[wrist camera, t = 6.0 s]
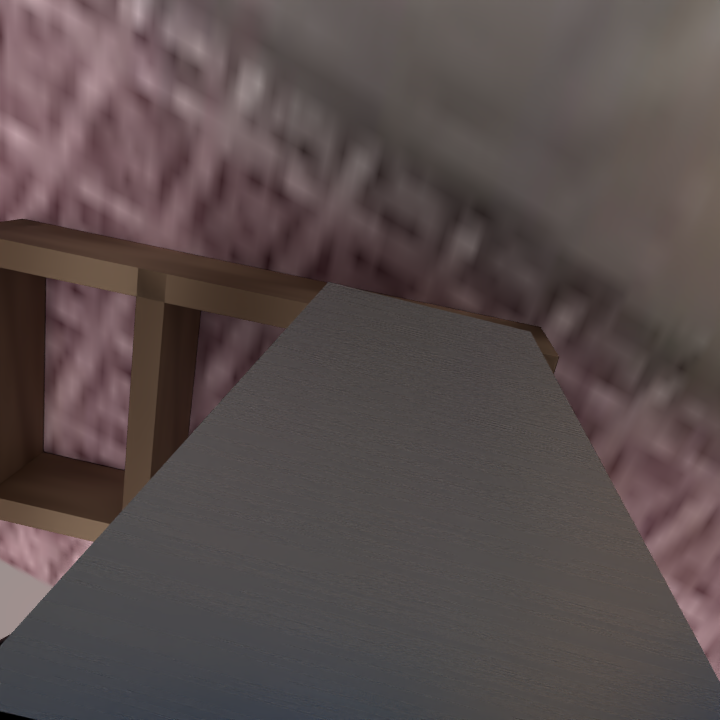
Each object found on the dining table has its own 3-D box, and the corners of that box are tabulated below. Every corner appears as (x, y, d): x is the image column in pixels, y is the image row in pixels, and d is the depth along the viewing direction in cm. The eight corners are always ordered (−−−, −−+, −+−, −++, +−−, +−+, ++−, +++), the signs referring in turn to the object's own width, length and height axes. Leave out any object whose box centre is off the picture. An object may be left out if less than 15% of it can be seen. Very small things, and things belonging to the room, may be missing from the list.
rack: (540, 326, 19) (559, 356, 16) (466, 578, 22) (470, 641, 19) (22, 218, 20) (-48, 228, 17) (22, 476, 23) (-38, 521, 20)
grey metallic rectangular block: (530, 332, 9) (1111, 1406, 1) (425, 650, 11) (396, 1817, 3) (328, 281, 9) (-291, 965, 1) (261, 606, 11) (-142, 1621, 3)
